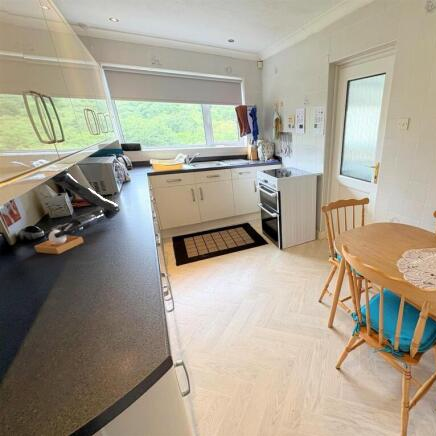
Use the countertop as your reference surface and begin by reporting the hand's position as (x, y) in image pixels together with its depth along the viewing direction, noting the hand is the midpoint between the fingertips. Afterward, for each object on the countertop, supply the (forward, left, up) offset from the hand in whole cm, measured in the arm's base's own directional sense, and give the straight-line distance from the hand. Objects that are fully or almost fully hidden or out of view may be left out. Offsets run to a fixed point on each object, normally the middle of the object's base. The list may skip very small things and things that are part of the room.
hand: (50, 235), depth 110 cm
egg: (0, +3, -6) cm, 7 cm away
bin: (0, +2, -8) cm, 8 cm away
